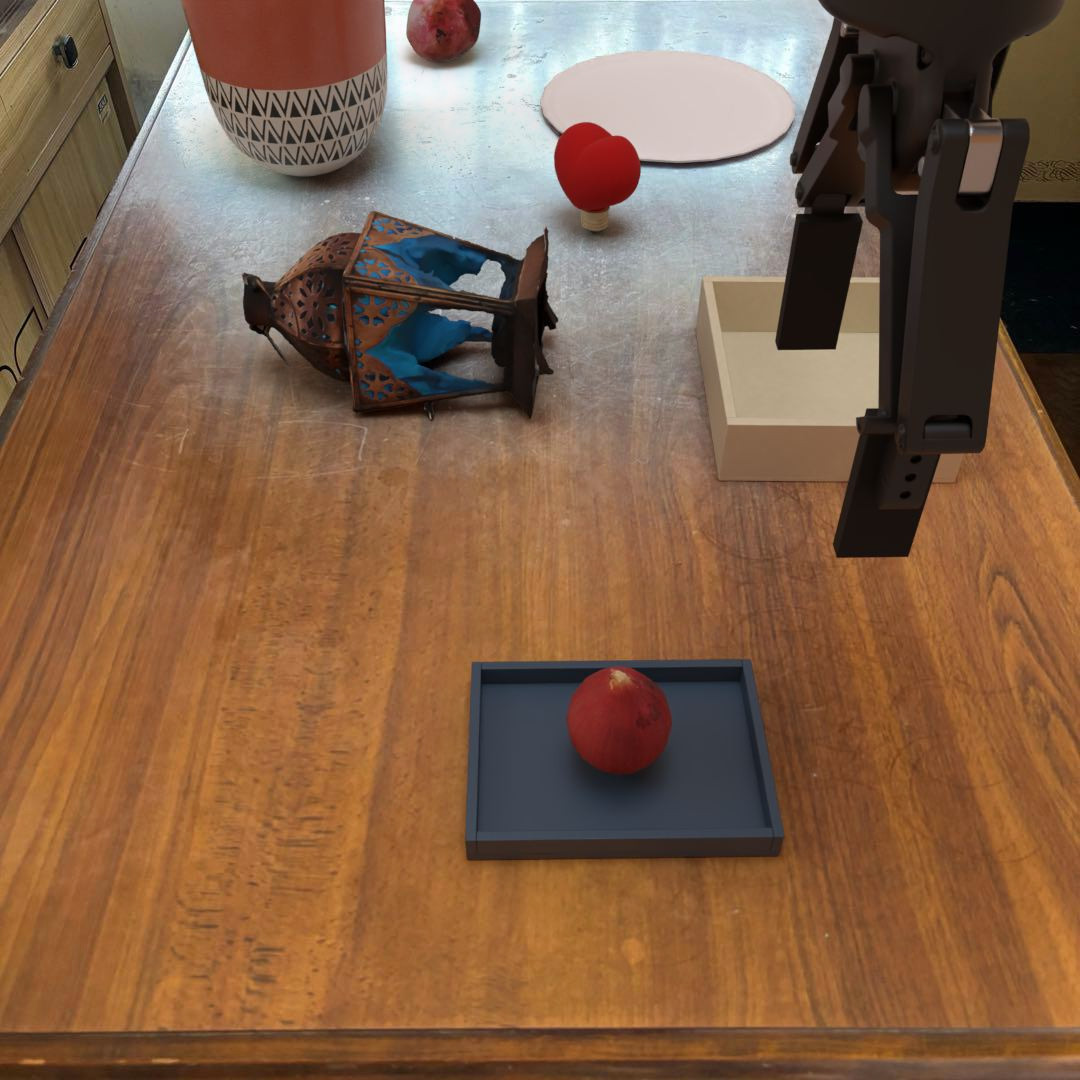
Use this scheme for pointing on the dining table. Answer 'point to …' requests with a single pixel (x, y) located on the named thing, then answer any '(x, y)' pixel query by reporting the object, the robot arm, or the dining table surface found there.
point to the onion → (619, 720)
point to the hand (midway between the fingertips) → (834, 438)
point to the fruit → (443, 28)
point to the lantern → (405, 313)
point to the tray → (626, 799)
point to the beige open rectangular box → (787, 384)
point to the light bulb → (595, 171)
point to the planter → (293, 77)
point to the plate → (672, 104)
